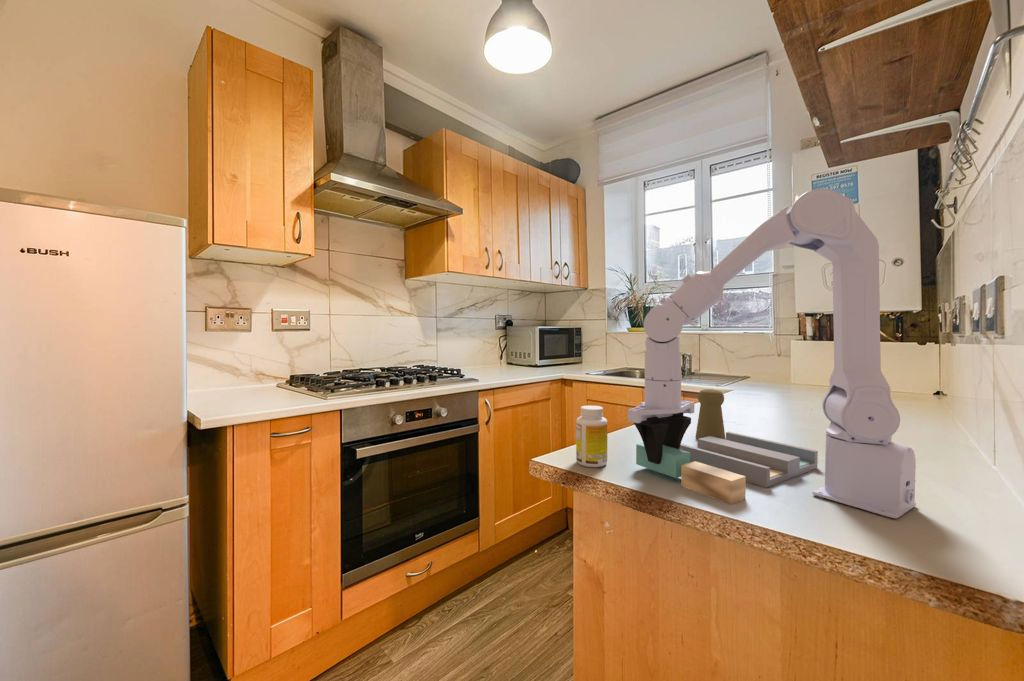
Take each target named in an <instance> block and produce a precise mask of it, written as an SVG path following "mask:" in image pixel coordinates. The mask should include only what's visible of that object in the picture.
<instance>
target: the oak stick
mask: <svg viewBox="0 0 1024 681" xmlns="http://www.w3.org/2000/svg"><path fill="white" fill-rule="evenodd" d="M680 478H681V479H680V480H681V481H680V483H681V484H680V487H682V486H683V487H682V488H685V487H687V488H686V489H688V488H689V489H688V490H690V489H692V490H691V491H693V490H694V492H696V491H697V492H696V493H699V492H700V493H699V494H701V493H702V495H704V494H705V495H704V496H707V495H708V496H707V497H709V496H711V498H712V497H714V498H713V499H715V498H716V500H718V499H719V500H718V501H720V500H722V501H721V502H723V501H724V502H723V503H727V504H730V505H731V506H732V505H734V504H736V502H737V503H740V502H742V501H743V499H744V500H746V491H747V489H746V485H747V484H746V483H747V482H746V476H743V475H740V474H736V473H733V472H730V471H726V470H723V469H720V468H716V467H713V466H710V465H706V464H703V463H700V462H696V461H695V462H691V463H687V464H684V465H681V477H680ZM741 500H742V501H741Z"/></svg>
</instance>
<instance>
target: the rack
mask: <svg viewBox="0 0 1024 681" xmlns="http://www.w3.org/2000/svg"><path fill="white" fill-rule="evenodd" d="M725 439H726V440H725ZM725 439H720V438H716V437H712V436H708V437H704V438H700V439H698V440H697V446H696V447H695V446H691V445H687V444H684V443H681V444H680V448H679V449H680V450H683V451H687V452H690V463H691V462H695V461H696V462H700V463H703V464H706V465H710V466H713V467H716V468H720V469H723V470H726V471H730V472H733V473H736V474H740V475H743V476H746V481H747V482H746V483H749V482H751V483H750V484H752V483H753V485H755V484H756V486H758V485H759V486H758V487H762V488H765V487H766V488H765V489H767V488H770V487H773V486H775V485H777V484H780V483H782V482H785V481H788V480H790V479H792V478H795V477H798V476H800V475H803V474H806V473H808V472H811V471H813V470H816V469H817V468H818V459H819V458H818V456H819V455H818V450H816V449H815V450H814V449H810V448H806V447H802V446H796V445H793V444H789V443H788V444H787V443H782V442H777V441H773V440H769V439H765V438H761V437H759V438H758V437H755V436H750V435H746V434H741V433H737V432H732V431H725ZM772 485H773V486H772Z"/></svg>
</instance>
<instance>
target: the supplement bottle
mask: <svg viewBox="0 0 1024 681" xmlns="http://www.w3.org/2000/svg"><path fill="white" fill-rule="evenodd" d="M575 426H576V427H575V428H576V429H575V431H576V432H575V433H576V434H575V439H576V440H575V441H576V442H575V444H576V446H575V448H576V449H575V454H576V456H575V457H576V458H575V460H576V463H578V465H581V466H582V467H586V468H602V467H604V466H606V465H607V463H608V419H607V418H606V417H604V407H603V406H600V405H591V404H590V405H583V406H582V405H581V406H580V416H579V417H577V418H576V420H575Z"/></svg>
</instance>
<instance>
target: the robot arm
mask: <svg viewBox="0 0 1024 681" xmlns="http://www.w3.org/2000/svg"><path fill="white" fill-rule="evenodd" d="M789 207H790V206H789V204H788V205H786V206H785V207H783V208H782V209H780V210H779V211H777V212H776V213H774V214H773V215H772V216H771V217H770V218H767V220H765V221H764V222H763V223H761V224H760V225H759V226H757V227H756V229H754V231H752V232H751V233H750V234H749V235H748V236H747V237H746V238H745V239H743V240H742V242H740V244H738V245H736V247H735V248H734V249H732V251H730V252H729V254H727V255H726V256H725V257H724V258H723V259H722V260H721V261H719V263H717V264H716V265H715V266H714V267H713V268H712V269H711V270H709V271H696V272H694V273H693V274H692V275H691V276H690V274H686V275H685V276H684V277H683V278H682V279H681V281H682V282H683V283H681V285H680V286H679V287H677V288H676V289H675V290H674V291H673V292H672V293H671V294H670V295H668V297H666V298H665V297H662V298H660V299H659V301H658V302H659V305H656V306H653V307H651V308H650V309H649V311H648V313H647V314H646V315H645V317H644V319H643V330H644V332H645V334H646V335H647V336H646V337H645V343H644V344H645V345H644V346H645V351H644V401H643V402H642V401H641V402H640V405H638V406H636V407H633V408H629V409H627V422H630V423H633V424H634V426H635V428H636V429H637V432H638V434H639V435H640V437H641V440H642V443H644V447H645V450H646V454H647V458H648V461H649V462H652V463H655V464H660V463H661V459H662V451H663V445H665V446H669V447H672V448H676V449H679V448H680V444H682V441H683V438H684V436H685V434H686V431H687V429H688V428H689V426H690V425H691V423H692V417H690V416H688V415H687V416H685V415H684V414H695V401H691V400H690V401H689V400H682V351H681V350H680V339H681V338H680V337H679V336H680V334H681V332H682V330H683V326H684V325H692V324H693V323H695V321H697V320H698V319H699V318H700V317H702V316H703V315H704V314H705V313H706V312H707V311H709V310H710V309H711V308H713V307H714V305H716V304H717V303H719V301H721V300H722V299H723V296H724V286H725V285H726V284H728V282H730V281H731V280H732V279H734V278H735V277H737V276H738V275H739V274H740V273H741V272H743V271H744V270H745V269H746V268H748V267H749V266H750V265H751V264H753V263H754V262H755V261H756V260H757V259H759V258H760V257H761V256H762V255H763V254H764V253H765V254H766V252H770V251H771V252H772V251H775V250H781V249H784V248H785V247H786V246H788V245H790V246H794V247H797V248H801V249H806V250H811V251H814V252H815V253H816V254H818V255H820V256H821V257H823V258H825V259H826V260H828V261H830V262H831V263H832V305H833V307H832V308H833V309H832V310H833V311H832V312H833V313H832V314H833V363H834V364H833V370H832V373H831V374H830V378H829V388H828V392H827V393H826V395H825V396H824V398H823V401H822V405H821V407H822V411H823V414H824V416H825V418H826V419H827V420H828V421H830V424H829V425H828V427H827V428H826V429H825V452H824V453H825V454H824V455H825V459H824V460H825V461H824V462H825V463H824V464H825V465H824V485H823V486H820V487H819V488H816V489H815V490H812V492H811V493H812V495H813V496H817V497H819V498H823V499H827V500H830V501H834V502H836V503H840V504H843V505H848V506H850V507H854V508H858V509H861V510H864V511H867V512H870V513H874V514H877V515H881V516H884V517H887V518H890V519H891V518H892V519H898V518H900V517H902V516H903V515H905V514H906V513H907V512H908V511H910V510H912V509H913V508H914V507H916V506H917V502H916V499H915V496H916V494H915V493H916V454H915V451H914V449H913V448H912V447H910V446H907V445H902V444H898V443H895V442H893V441H892V436H893V435H894V434H896V432H897V431H898V429H899V427H900V425H901V424H900V423H901V415H900V412H899V409H898V408H897V407H896V405H895V404H894V402H893V400H892V396H891V386H890V384H889V382H888V381H887V379H886V377H885V375H884V373H883V371H882V370H881V369H882V368H881V364H882V363H881V318H880V317H881V309H880V308H881V304H880V298H881V297H880V294H881V293H880V245H879V240H878V238H877V236H876V235H875V234H874V232H873V231H872V230H871V228H869V227H868V225H867V224H866V222H865V221H864V220H863V219H862V217H861V215H859V214H858V211H856V207H855V204H854V200H853V199H851V198H849V197H847V196H845V195H843V194H841V193H838V192H837V191H835V190H832V189H830V188H813V189H811V190H809V191H806V192H804V193H802V194H801V195H800V196H798V198H797V199H796V200H795V201H794V202H793V204H792V205H791V207H790V208H789ZM660 304H661V305H660Z"/></svg>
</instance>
